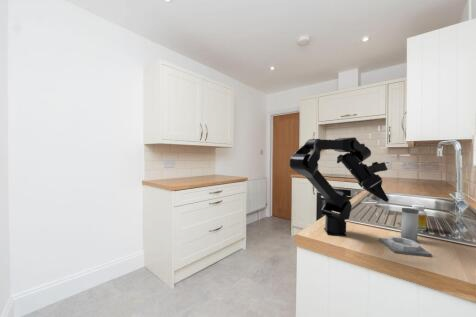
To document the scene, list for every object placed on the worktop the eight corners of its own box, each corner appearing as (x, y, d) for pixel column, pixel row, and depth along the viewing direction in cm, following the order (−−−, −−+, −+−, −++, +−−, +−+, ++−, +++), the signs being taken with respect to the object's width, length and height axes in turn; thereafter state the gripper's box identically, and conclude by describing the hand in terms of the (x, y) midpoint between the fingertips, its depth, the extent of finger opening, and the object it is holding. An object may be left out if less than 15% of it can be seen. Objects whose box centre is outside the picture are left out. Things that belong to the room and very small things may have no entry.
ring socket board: (394, 252, 64) (394, 246, 64) (378, 239, 74) (379, 234, 74) (431, 256, 62) (431, 250, 62) (410, 242, 72) (411, 237, 72)
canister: (405, 241, 73) (406, 210, 73) (397, 236, 78) (399, 207, 78) (420, 243, 72) (422, 211, 72) (412, 237, 77) (413, 208, 77)
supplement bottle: (429, 231, 84) (430, 207, 84) (414, 230, 85) (415, 206, 85) (420, 226, 89) (421, 204, 89) (406, 225, 90) (407, 203, 90)
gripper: (378, 151, 72) (414, 188, 67) (370, 156, 89) (399, 186, 84) (349, 170, 75) (381, 207, 70) (347, 171, 92) (373, 201, 87)
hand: (384, 199), depth 78 cm, fingers open, 9 cm apart
